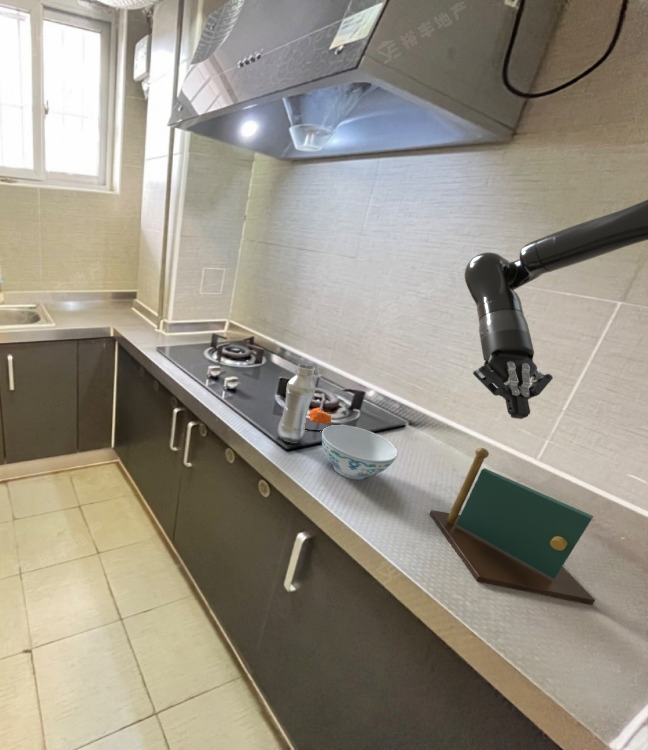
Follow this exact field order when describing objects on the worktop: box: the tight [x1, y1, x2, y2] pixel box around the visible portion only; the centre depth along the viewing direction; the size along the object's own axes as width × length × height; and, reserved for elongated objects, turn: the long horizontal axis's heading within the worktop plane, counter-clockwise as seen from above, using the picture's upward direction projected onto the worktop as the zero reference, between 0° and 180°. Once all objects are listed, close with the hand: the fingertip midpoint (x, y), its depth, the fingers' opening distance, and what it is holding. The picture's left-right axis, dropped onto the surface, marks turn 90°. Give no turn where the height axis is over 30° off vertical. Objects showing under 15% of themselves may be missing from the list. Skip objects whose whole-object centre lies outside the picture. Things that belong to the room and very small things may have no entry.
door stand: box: [429, 447, 596, 606], centre depth 65 cm, size 16×16×17 cm
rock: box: [309, 407, 332, 424], centre depth 110 cm, size 12×12×4 cm
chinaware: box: [321, 424, 398, 480], centre depth 87 cm, size 15×15×8 cm
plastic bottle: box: [276, 363, 316, 443], centre depth 96 cm, size 6×7×20 cm
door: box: [457, 467, 594, 579], centre depth 64 cm, size 14×3×12 cm, turn 33°
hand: (520, 417), depth 73 cm, fingers closed
